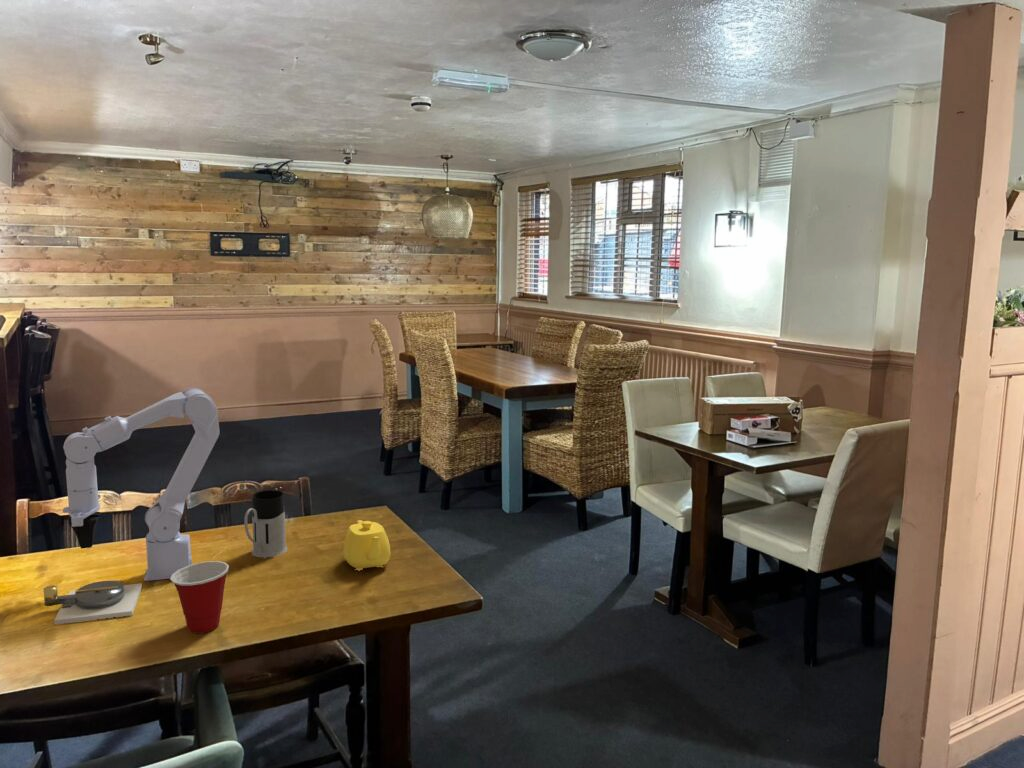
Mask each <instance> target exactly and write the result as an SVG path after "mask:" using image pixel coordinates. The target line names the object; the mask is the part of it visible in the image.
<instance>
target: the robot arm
mask: <svg viewBox="0 0 1024 768" xmlns="http://www.w3.org/2000/svg"><path fill="white" fill-rule="evenodd" d="M218 412H219V409H218V407H217V406H216V404H215V402H214V400H213V399H212V397H211V396H209V395H207V394H206V392H205V391H204V390H202V389H201V388H197V387H190V388H187V389H185V390H184V391H183V392H182V391H179V392H175V393H174V394H172V395H170V396H166V397H165V398H164V399H161V400H160V401H157V402H154V403H153V404H151V405H149V406H147V407H145V408H142V410H139V411H137V412H136V413H133V414H131V415H129V416H126V417H122V416H119V415H115V416H114V417H111V416H110V415H108V416H106V417H104V421H102V422H100V423H98V424H96V425H93V426H92V427H89V428H88V427H87V426H85V427H84V428H82V429H81V431H82V432H78V431H77V432H73V433H71V434H70V435H68V436H67V437H66V439H65V441H64V443H63V446H62V448H63V451H64V455H65V456H66V460H65V465H66V466H65V467H66V469H65V478H66V488H67V491H66V492H67V502H68V506H65V507H63V509H62V513H64V514H65V513H66V514H67V513H68V515H69V516H70V517H69V519H68V520H67V521H68V524H69V526H70V527H71V528H72V530H73V531H74V533H75V536H76V538H77V541H78V544H79V546H80V548H81V549H90V548H93V545H94V541H95V533H96V527H97V524H98V522H99V519H100V516H101V514H102V513H101V512H100V511H99V510H101V509H100V508H101V506H100V503H99V490H98V476H97V466H96V464H95V456H96V454H97V453H100V452H104V451H106V450H109V449H110V448H112V447H115V446H116V445H119V444H122V443H124V442H125V441H128V440H129V439H131V436H132V433H133V432H134V431H136V430H138V429H140V428H143V427H146V426H148V425H151V424H153V423H155V422H158V421H160V420H163V419H166V418H168V417H173V418H179V419H183V418H184V417H185V416H184V414H185V415H186V416H187V417H188V418H189V419H190V423H191V425H192V427H193V429H194V431H195V432H194V433H193V436H192V438H191V440H190V443H189V445H188V446H187V448H186V450H185V451H184V453H183V455H182V457H181V459H180V461H179V463H178V466H177V467H176V470H175V471H174V473H173V476H172V477H171V479H170V480H169V483H168V484H167V486H166V489H165V491H164V492H163V493H162V494H161V495H160V496H159V497H158V499H157V501H156V502H155V503H154V505H152V506H151V507H150V508H149V509H148V510H147V511H146V512H145V515H144V521H145V524H146V525H147V527H148V529H149V531H148V533H147V534H146V535H145V544H146V545H145V548H146V562H147V563H146V564H147V565H146V566H147V570H146V572H145V575H144V579H143V581H144V582H147V581H148V582H150V581H160V580H167V579H168V580H171V579H170V578H171V576H172V574H173V573H175V572H176V571H177V570H179V569H181V568H184V567H186V566H189V565H192V564H193V557H192V552H191V551H192V550H191V549H192V548H191V546H192V545H191V537H190V534H182V533H181V532H180V529H181V527H180V525H181V524H180V523H181V522H180V521H181V519H182V517H183V514H184V508H185V503H186V500H187V499H188V497H189V495H190V494H191V491H192V489H193V487H194V485H196V484H195V483H196V482H197V480H198V478H199V476H200V473H202V470H203V468H204V466H205V464H206V462H207V460H208V458H209V456H210V454H211V452H212V451H213V448H214V447H215V444H216V442H217V440H218V438H219V436H220V423H219V417H218V416H219V413H218Z"/></svg>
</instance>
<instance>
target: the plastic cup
mask: <svg viewBox="0 0 1024 768" xmlns="http://www.w3.org/2000/svg"><path fill="white" fill-rule="evenodd" d="M229 567H230V565H229V564H227V563H226V562H224V561H219V560H215V561H213V560H210V561H203V562H197V563H192V565H189V566H186V567H184V568H181V569H179V570H177V571H176V572H175V573H173V574H172V576H171V578H170V579H169V580H170V581H171V582H172V583H173V584H174V587H175V588H176V591H177V593H178V599H179V600H180V601H179V602H180V606H181V609H182V613H183V615H184V618H185V623H186V626H187V628H188V630H189V632H191V633H193V634H205V633H208V632H211V631H213V630H215V629H217V628H218V627H219V624H220V623H221V622H220V621H221V613H222V608H223V600H224V595H225V594H224V593H225V585H226V578H227V574H228V572H229Z"/></svg>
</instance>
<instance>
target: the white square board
mask: <svg viewBox="0 0 1024 768" xmlns="http://www.w3.org/2000/svg"><path fill="white" fill-rule="evenodd" d="M123 585H124V597H123V598H122V599H121V600H119V601H118V602H116V603H113V604H111V605H108V606H104V607H98V608H82V607H79V606H77V605H76V603H68V604H61V605H62V606H61V608H60V609H59V610H58V612H57V615H56V617H55V618H54V620H53V623H54V626H55V625H62V624H63V625H64V623H65V624H73V623H82V622H89V621H90V620H91V621H98V620H97V619H99V620H105V619H106V618H108V619H114V618H113V617H116V618H123V617H124V616H125V617H132V616H133V615H134V611H135V609H136V605H137V603H138V600H139V597H140V594H141V591H142V588H143V584H142V583H134V584H133V583H132V584H123ZM77 590H78V589H75V590H70V591H69V592H68V595H73V594H75V591H77ZM106 620H107V619H106ZM91 621H90V622H91Z"/></svg>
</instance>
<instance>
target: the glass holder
mask: <svg viewBox="0 0 1024 768" xmlns="http://www.w3.org/2000/svg"><path fill="white" fill-rule="evenodd" d="M284 494H285V493H284V492H282V491H281V490H274V489H273V490H272V489H271V490H270V489H269V490H268V489H267V490H261V491H257V492H255V493H253V494H252V495H251V496H252V497H251V499H252V501H251V502H252V507H251V508H248V509H247V510H246V512H245V514H244V521H243V523H244V530H245V533H246V536H247V539H248V540H249V541H250V542H252V543H253V544H252V547H253V548H252V550H251V555H252V554H253V555H254V556H257V557H264V558H263V559H267V558H266V557H274V556H277V555H280V554H282V553H284V552H286V551H287V549H288V547H287V543H286V542H287V541H286V535H287V534H286V507H285V498H284V497H285V496H284ZM250 512H252V515H251V517H252V519H251V520H252V536H251V534H250V531H249V527H248V517H249V514H250ZM287 552H288V551H287ZM253 555H252V556H253ZM254 556H253V557H254ZM257 557H256V558H257ZM274 558H275V557H274Z"/></svg>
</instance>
